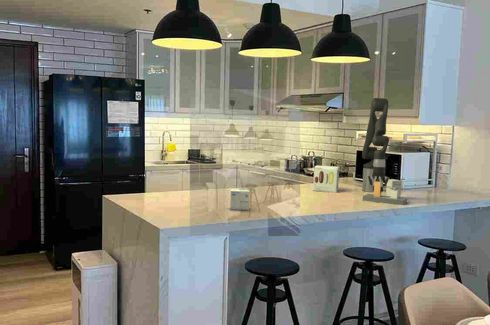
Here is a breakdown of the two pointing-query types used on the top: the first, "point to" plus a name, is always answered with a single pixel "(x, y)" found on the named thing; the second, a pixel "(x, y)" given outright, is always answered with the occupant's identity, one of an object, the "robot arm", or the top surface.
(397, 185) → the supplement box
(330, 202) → the top surface
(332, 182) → the supplement box
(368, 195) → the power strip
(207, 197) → the top surface
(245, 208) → the light bulb box
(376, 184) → the orange plug
